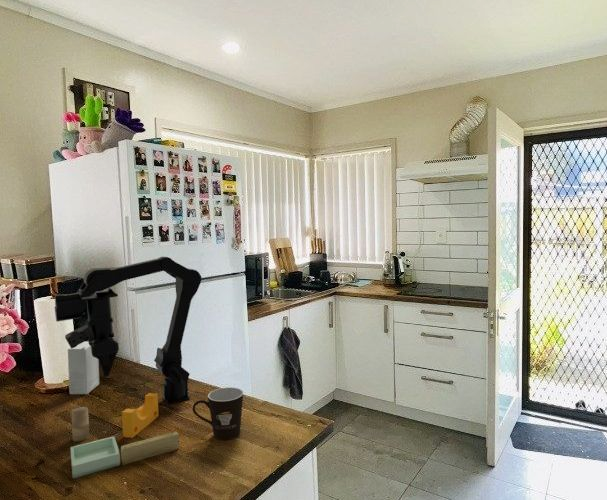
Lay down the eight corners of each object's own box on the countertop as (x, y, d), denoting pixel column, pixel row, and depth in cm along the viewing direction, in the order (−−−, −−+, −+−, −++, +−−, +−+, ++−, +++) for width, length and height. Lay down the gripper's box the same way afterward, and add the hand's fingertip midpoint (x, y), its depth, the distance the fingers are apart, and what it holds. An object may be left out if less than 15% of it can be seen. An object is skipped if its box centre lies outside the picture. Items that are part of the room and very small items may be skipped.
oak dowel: (88, 432, 105) (87, 405, 105) (89, 438, 102) (88, 410, 102) (72, 436, 103) (71, 409, 103) (73, 442, 100) (71, 414, 100)
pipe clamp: (144, 415, 115) (143, 392, 115) (158, 416, 114) (157, 393, 114) (116, 437, 103) (115, 411, 103) (132, 438, 102) (131, 412, 102)
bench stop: (177, 445, 98) (176, 431, 98) (178, 448, 96) (178, 434, 96) (121, 461, 92) (121, 446, 91) (122, 464, 90) (122, 449, 90)
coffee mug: (250, 428, 106) (249, 389, 105) (234, 444, 98) (232, 403, 97) (210, 422, 110) (209, 384, 109) (191, 437, 102) (190, 397, 101)
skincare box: (82, 385, 138) (80, 341, 138) (100, 384, 138) (98, 340, 138) (68, 395, 130) (66, 348, 129) (88, 394, 130) (85, 347, 129)
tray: (114, 446, 98) (114, 436, 98) (120, 464, 90) (119, 453, 90) (71, 458, 93) (70, 447, 93) (72, 478, 86) (72, 466, 86)
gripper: (65, 313, 117) (70, 368, 118) (66, 326, 101) (72, 389, 102) (108, 308, 123) (112, 359, 124) (116, 319, 107) (121, 378, 108)
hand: (104, 371), depth 114 cm, fingers open, 9 cm apart
